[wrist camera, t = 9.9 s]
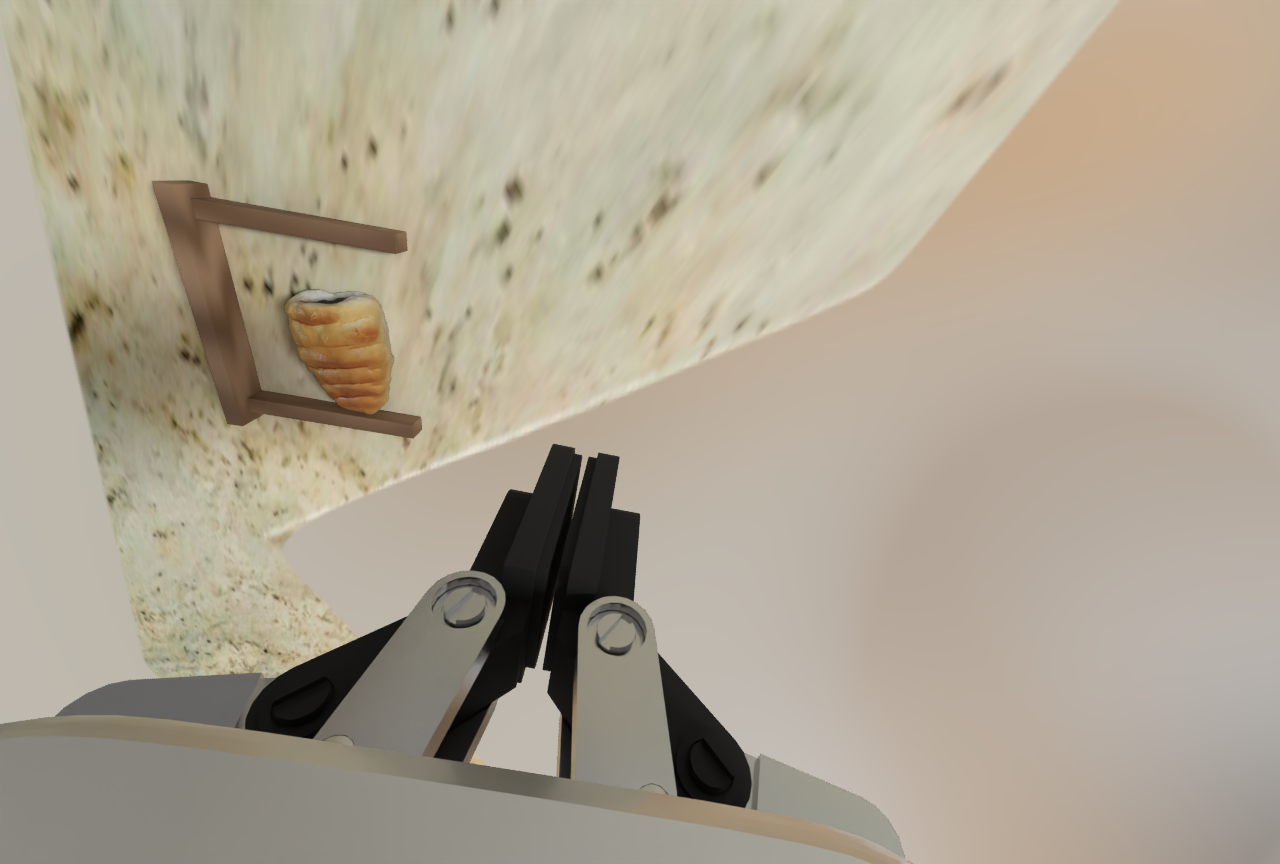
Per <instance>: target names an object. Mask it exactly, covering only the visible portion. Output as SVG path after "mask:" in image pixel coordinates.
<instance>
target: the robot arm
mask: <svg viewBox="0 0 1280 864" xmlns="http://www.w3.org/2000/svg"><path fill="white" fill-rule="evenodd" d="M581 461H582V455H578V454H575V448H572V447H567V446H562V445H557V444H553V445H552V448H551V450H550V452H549V455H548V457H547V460H546V462H545V465H544V467H543V470H542V472H541V474H540V477H539V479H538V482H537V484H536V487H535V489H534V492H533V493H527V492H522V491H517V490H512V489H511V490H509V491H508V493H507V495H506V497H505V499H504V501H503V503H502V505H501V507H500V509H499V511H498V513H497V516H496V518H495V520H494V522H493V524H492V526H491V528H490V530H489V532H488V534H487V536H486V539H485V540H484V543H483V545H482V547H481V549H480V551H479V553H478V555H477V557H476V559H475V561H474V563H473V565H472V567H471V569H470V571H460V572H456V573H453V574H450V575H447V576H445V577H444V578H442V579H440V580H438V581H437V582H436V583H435V584H434V585H433V586H432V587H431V588H430V589H429V590H428V591H427V592H426V593H425V595H424V596H423V597H422V599H421V600H420V601H419V602H418V604H417V605H416V606H415V608H414V609H413V610H412V612H411V613H410V614H409V615H408V616H407V617H405V618H402V619H400V620H398V621H396V622H394V623H391V624H389V625H387V626H385V627H383V628H380V629H378V630H376V631H374V632H372V633H369V634H367V635H365V636H363V637H360V638H358V639H356V640H354V641H351V642H349V643H347V644H345V645H343V646H340V647H338V648H336V649H334V650H331V651H329V652H327V653H325V654H323V655H320V656H318V657H316V658H314V659H312V660H309V661H307V662H305V663H303V664H300V665H298V666H296V667H294V668H292V669H290V670H289V671H287V672H285V673H283V674H282V675H280V676H278V677H277V678H264V676H263V674H262V673H246V674H229V675H211V676H193V677H176V678H159V679H141V680H128V681H123V682H118V683H112V684H108V685H106V686H104V687H101V688H99V689H96V690H94V691H92V692H89V693H87V694H85V695H83V696H82V697H80V698H79V699H77V700H76V701H74V702H72V703H71V704H69V705H68V706H66V707H65V708H63V709H62V710H61V711H60V712H59V713H58V714H57V715H56V716H55V717H46V718H38V719H31V720H25V721H18V722H11V723H4V724H0V864H913V863H911V862H910V861H908V860H906V859H905V855H904V852H903V849H902V846H901V842H900V839H899V836H898V835H897V833H896V831H895V830H894V828H893V826H892V825H891V823H890V821H889V820H888V819H887V817H886V816H885V815H884V814H882V812H881V811H880V810H879V809H878V808H877V807H876V806H875V805H874V804H872V803H870V802H869V801H867V800H865V799H864V798H862V797H860V796H858V795H856V794H854V793H851V792H849V791H846V790H844V789H842V788H839V787H837V786H835V785H832V784H830V783H828V782H825V781H823V780H821V779H818V778H816V777H813V776H811V775H809V774H807V773H804V772H802V771H799V770H797V769H795V768H793V767H790V766H788V765H786V764H783V763H781V762H779V761H776V760H774V759H771V758H769V757H767V756H764V755H762V754H760V756H759V757H758V758H755V757H753V756H751V755H748V754H746V753H744V752H743V751H742V749H741V748H740V747H739V745H738V743H737V742H736V741H735V740H734V738H733V737H732V736H731V735H730V734H729V733H728V731H727V730H725V728H724V727H723V726H722V725H721V724H720V722H719V721H718V720H717V719H716V718H715V717H714V716H713V714H712V713H711V712H710V711H709V710H708V709H707V708H706V707H705V705H704V704H703V703H702V702H701V701H700V700H699V699H698V698H697V696H696V695H695V694H694V693H693V692H692V691H691V690H690V689H689V688H688V686H687V685H686V684H685V683H684V682H683V681H682V680H681V678H680V677H679V676H678V675H677V674H676V673H675V672H674V671H673V669H672V668H671V667H670V666H669V665H668V664H667V663H666V661H665V660H664V659H663V658H662V657H661V656H660V655H659V654H658V651H657V643H656V636H655V629H654V626H653V623H652V619H651V618H650V617H649V615H648V613H647V612H646V610H645V609H643V608H642V607H641V606H640V605H638V604H637V603H636V602H634V588H635V575H636V562H637V551H638V538H639V525H640V514H639V513H633V512H628V511H623V510H617V509H612V508H611V506H612V500H613V494H614V488H615V482H616V476H617V470H618V464H619V457H618V456H613V455H608V454H603V453H598V457H597V458H593V457H589V458H588V462H587V465H586V469H585V473H584V477H583V480H582V484H581V488H580V492H579V495H578V499H577V503H576V507H575V511H574V514H573V510H574V503H575V498H576V491H577V486H578V480H579V473H580V467H581ZM572 516H573V518H572ZM553 598H554V600H553ZM552 602H553V606H552ZM551 606H552V613H551V620H550V626H549V632H548V638H547V645H546V651H545V658H544V664H543V670H547V671H551V673H550V679H549V685H548V691H547V693H548V694H549V696H550V697H551V699H552V700H553V702H554V703H555V705H556V706H557V708H558V709H559V711H560V712H561V714H560V719H559V736H558V756H557V776H556V777H553V776H547V775H541V774H534V773H528V772H521V771H515V770H509V769H502V768H496V767H490V766H483V765H477V764H470V761H471V759H472V756H473V754H474V752H475V750H476V748H477V746H478V744H479V742H480V740H481V738H482V735H483V733H484V731H485V729H486V727H487V725H488V723H489V720H490V718H491V716H492V714H493V712H494V710H495V707H496V704H497V700H498V698H500V697H501V696H503V695H504V694H506V693H507V692H509V691H511V690H512V689H514V688H515V687H516V685H517V682H518V683H521V682H522V678H523V675H524V671H525V668H526V667H529V668H535V666H536V663H537V659H538V655H539V652H540V648H541V644H542V640H543V636H544V632H545V629H546V625H547V621H548V617H549V613H550V610H551Z"/></svg>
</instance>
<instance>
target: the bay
mask: <svg viewBox="0 0 1280 864" xmlns="http://www.w3.org/2000/svg"><path fill="white" fill-rule="evenodd" d="M152 184H153V188H154V191H155V194H156V197H157V200H158V204H159V207H160V210H161V213H162V216H163V219H164V223H165V226H166V229H167V232H168V235H169V239H170V242H171V245H172V248H173V251H174V255H175V258H176V261H177V264H178V267H179V271H180V274H181V277H182V280H183V283H184V287H185V290H186V293H187V296H188V299H189V303H190V306H191V309H192V312H193V315H194V319H195V322H196V325H197V328H198V331H199V334H200V338H201V341H202V344H203V347H204V350H205V354H206V357H207V360H208V363H209V366H210V370H211V373H212V376H213V379H214V382H215V386H216V389H217V392H218V395H219V398H220V402H221V405H222V408H223V411H224V414H225V418H226V421H227V424H232V425H239V426H244V425H246V424H247V423H249V422H251V421H253V420H254V419H256V418H258V417H259V416H261V415H263V414H268V415H274V416H280V417H286V418H292V419H298V420H304V421H310V422H316V423H322V424H328V425H334V426H340V427H347V428H353V429H359V430H365V431H371V432H377V433H383V434H389V435H395V436H401V437H407V438H414V437H415V436H416V435H417V434H418V433H419V432H420V431H421V430H422V424H421V417H418V416H412V415H406V414H400V413H394V412H388V411H382V410H378V411H377V412H376V413H374V414H365V413H364V412H357V411H352V410H348V409H346V408H343V407H341V406H339V405H338V404H337V403H334V402H328V401H322V400H316V399H310V398H304V397H298V396H292V395H286V394H280V393H274V392H268V391H262V390H261V388H260V384H259V380H258V376H257V372H256V368H255V365H254V361H253V357H252V353H251V349H250V346H249V342H248V338H247V334H246V330H245V326H244V323H243V319H242V315H241V311H240V307H239V304H238V300H237V296H236V292H235V288H234V285H233V281H232V277H231V273H230V269H229V265H228V262H227V258H226V254H225V250H224V246H223V243H222V239H221V235H220V231H219V227H218V223H224V224H229V225H235V226H241V227H246V228H252V229H258V230H263V231H269V232H275V233H281V234H286V235H292V236H298V237H303V238H309V239H315V240H320V241H326V242H332V243H338V244H343V245H349V246H355V247H360V248H366V249H372V250H378V251H383V252H389V253H395V254H397V253H401V252H404V251H407V239H406V232H404V231H398V230H393V229H387V228H381V227H376V226H370V225H364V224H359V223H353V222H348V221H342V220H336V219H331V218H325V217H319V216H314V215H308V214H302V213H297V212H291V211H285V210H280V209H274V208H268V207H263V206H257V205H251V204H246V203H240V202H234V201H229V200H223V199H217V198H212V197H210V193H209V189H208V185H207V184H205V183H199V182H194V181H152ZM217 222H218V223H217Z"/></svg>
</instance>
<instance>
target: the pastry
mask: <svg viewBox="0 0 1280 864" xmlns="http://www.w3.org/2000/svg"><path fill="white" fill-rule="evenodd" d="M284 310H285V313H287V315H288V319H289V327H290V332H291V335H292V338H293V340H294V341H295V343H296V345H297V349H298V355H299V358H300V359H301V360H302V361H303V362H304V363H305V364H306V366H307V367H308V369H309V370H310V371H312V372H313V373H314V375H315V377H316V379H317V380H318V381H319V382H320V385H321V386H322V388H323V389H324V390H325V391H326V392H327V394H328V395H329V396H330V397H331V398H332V399H333V400H335V401H336V403H337V404H338V405H339V406H341V407H343V408H346V409H348V410H352V411H357V412H364V413H365V414H374V413H376V412H377V411H378V410H379V409H380V408H381V407H382V406H383V405H384V404H385V403H386V402H387V401H388V399H389V389H390V386H389V384H390V381H391V369H392V365H393V363H394V357H393V355H392V353H391V344H390V340H389V331H388V327H387V322H386V319H385V314H384V312H383V310H382V307H381V304H380V303H379V302H378V300H377V299H376V298H375V297H373V296H371V295H366V294H365V293H362V292H353V291H350V292H340V293H335V294H332V293H328V292H326V291H323V290H306V291H302V292H300V293H298V294H296V295H295V296H293V297H292V298H290V299H289V300H288V301H287V303H286V305H285V308H284Z"/></svg>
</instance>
